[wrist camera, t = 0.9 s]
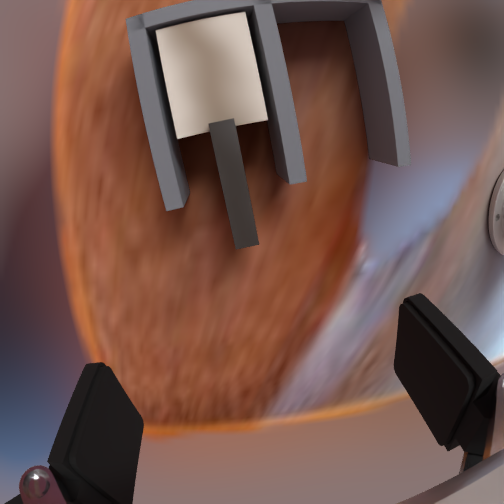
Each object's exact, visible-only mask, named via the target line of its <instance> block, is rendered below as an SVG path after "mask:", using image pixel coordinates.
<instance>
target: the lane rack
mask: <svg viewBox="0 0 504 504" xmlns="http://www.w3.org/2000/svg"><path fill="white" fill-rule="evenodd" d="M241 12H245V14H246V18H247V22H248V27H249V31H250V36H251V40H252V45H253V49H254V54H255V58H256V63H257V68H258V73H259V77H260V82H261V87H262V92H263V97H264V102H265V107H266V112H267V117H268V120H267V123H268V129H269V134H270V139H271V144H272V150H273V155H274V161H275V166H276V172H277V174H278V175H279V176H280V177H281V178H282V179H284V180H285V181H286V182H287V183H289V184H295V183H301V182H306V181H307V178H306V171H305V165H304V159H303V153H302V147H301V141H300V135H299V129H298V124H297V118H296V113H295V107H294V102H293V97H292V92H291V87H290V82H289V77H288V72H287V67H286V63H285V58H284V54H283V49H282V45H281V40H280V36H279V32H278V27H277V23H288V22H304V21H344V22H345V26H346V30H347V34H348V38H349V43H350V47H351V51H352V56H353V60H354V65H355V70H356V75H357V80H358V85H359V91H360V97H361V102H362V108H363V115H364V121H365V128H366V135H367V143H368V151H369V159H372V160H375V161H379V162H383V163H387V164H390V165H394V166H398V167H400V166H408V165H411V158H410V147H409V137H408V129H407V120H406V113H405V106H404V100H403V93H402V87H401V82H400V76H399V71H398V66H397V61H396V56H395V52H394V47H393V43H392V39H391V35H390V31H389V27H388V23H387V19H386V16H385V12H384V9H383V5H382V2H381V0H193V1H188V2H184V3H180V4H176V5H172V6H168V7H164V8H160V9H156V10H153V11H149V12H146V13H143V14H140V15H136V16H133V17H130V18H127V19H126V24H127V31H128V37H129V43H130V49H131V55H132V61H133V67H134V72H135V78H136V83H137V88H138V93H139V98H140V103H141V108H142V112H143V117H144V122H145V126H146V131H147V135H148V140H149V144H150V148H151V153H152V157H153V161H154V165H155V169H156V173H157V177H158V181H159V185H160V189H161V193H162V197H163V200H164V204H165V208H166V211H170V210H174V209H178V208H182V207H184V205H185V203H186V201H187V198H188V196H189V194H190V190H189V185H188V181H187V177H186V173H185V169H184V164H183V160H182V156H181V151H180V147H179V143H178V139H177V135H176V130H175V126H174V121H173V117H172V112H171V107H170V102H169V98H168V93H167V88H166V83H165V78H164V73H163V68H162V62H161V57H160V52H159V46H158V41H157V35H156V30H159V29H163V28H166V27H170V26H174V25H178V24H182V23H186V22H191V21H195V20H200V19H205V18H210V17H216V16H221V15H227V14H234V13H241Z"/></svg>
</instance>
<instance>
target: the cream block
mask: <svg viewBox="0 0 504 504" xmlns="http://www.w3.org/2000/svg"><path fill="white" fill-rule="evenodd" d="M156 35H157V41H158V46H159V52H160V57H161V62H162V68H163V73H164V78H165V83H166V88H167V93H168V98H169V102H170V107H171V112H172V117H173V121H174V126H175V130H176V135H177V139H180V138H184V137H189V136H193V135H197V134H201V133H205V132H210V134H211V139H212V143H213V148H214V153H215V157H216V162H217V166H218V171H219V176H220V180H221V185H222V189H223V194H224V198H225V203H226V207H227V212H228V216H229V221H230V225H231V230H232V234H233V239H234V243H235V247H236V249H241V248H245V247H250V246H255V245H259V241H258V236H257V231H256V226H255V220H254V215H253V210H252V205H251V200H250V195H249V190H248V185H247V180H246V175H245V170H244V165H243V160H242V155H241V150H240V146H239V141H238V136H237V131H236V126H239V125H244V124H249V123H255V122H260V121H265V120H268V117H267V112H266V107H265V102H264V97H263V92H262V87H261V82H260V77H259V73H258V68H257V63H256V58H255V54H254V49H253V45H252V40H251V36H250V31H249V27H248V22H247V18H246V14H245V12H241V13H234V14H227V15H221V16H216V17H210V18H205V19H200V20H195V21H191V22H186V23H182V24H178V25H174V26H170V27H166V28H163V29H159V30H156Z"/></svg>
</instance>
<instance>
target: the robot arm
mask: <svg viewBox="0 0 504 504" xmlns="http://www.w3.org/2000/svg"><path fill="white" fill-rule="evenodd" d="M489 233H490V238H491V242H492V244H493V246H494V248H495V249H496V250H497V251H498V252H499V253H500V254H502V255H503V256H504V171H503V172H502V173H501V175H500V177H499V179H498V181H497V183H496V186H495V188H494V191H493V194H492V198H491V203H490V208H489ZM394 370H395V373H396V375H397V376H398V378H399V380H400V381H401V383H402V384H403V386H404V388H405V389H406V391H407V392H408V394H409V396H410V397H411V399H412V400H413V402H414V404H415V405H416V407H417V409H418V410H419V412H420V413H421V415H422V417H423V419H424V420H425V422H426V424H427V425H428V427H429V429H430V430H431V432H432V434H433V435H434V437H435V439H436V440H437V442H438V444H439V445H441V446H443V445H444V446H445V447H446V449H447V451H450V450H452V449H453V448H455V447H457V446H459V445H460V446H461V447H462V449H463V451H464V455H463V459H462V463H461V467H460V471H459V475H457V476H455V477H453V478H451V479H449V480H447V481H445V482H443V483H441V484H439V485H437V486H435V487H433V488H431V489H429V490H427V491H425V492H422V493H420V494H418V495H416V496H414V497H411V498H409V499H407V500H404V501H402V502H400V503H397V504H504V373H503V374H502V375H500V374H499V373H498V372H497V370H496V369H495V368H494V366H493V365H492V364H491V363H490V362H489V361H488V360H487V359H486V358H485V357H484V356H483V354H482V353H481V352H480V351H479V350H478V349H477V348H476V347H475V346H474V345H473V344H472V343H471V342H470V341H469V340H468V339H467V338H466V336H465V335H464V334H463V333H462V332H461V331H460V330H459V329H458V328H457V327H456V326H455V325H454V324H453V323H452V322H451V321H450V320H449V319H448V318H447V317H446V316H445V315H444V314H443V313H442V312H441V311H440V310H439V309H438V308H437V307H436V306H435V305H434V304H433V303H432V302H430V301H429V300H428V299H427V298H426V297H425V296H424V295H423V294H421V293H419V294H416V295H413V296H410V297H407V298H405V299H404V301H403V304H401V305H400V307H399V318H398V330H397V341H396V350H395V359H394ZM143 428H144V423H143V419H142V417H141V415H140V414H139V412H138V411H137V409H136V408H135V406H134V405H133V403H132V402H131V400H130V399H129V397H128V396H127V394H126V392H125V391H124V389H123V388H122V386H121V384H120V383H119V381H118V379H117V378H116V376H115V374H114V373H113V371H112V369H111V368H110V367H109V366H106V365H105V364H104V363H102V362H100V363H90V364H86V365H85V367H84V369H83V371H82V374H81V376H80V378H79V381H78V383H77V385H76V388H75V390H74V392H73V395H72V397H71V400H70V402H69V404H68V407H67V409H66V412H65V415H64V417H63V420H62V422H61V425H60V427H59V430H58V433H57V436H56V438H55V441H54V444H53V446H52V449H51V452H50V455H49V458H48V461H47V462H48V463H49V464H50V466H49V469H48V468H47V467H45V466H41V465H40V466H34V467H31V468H29V469H28V470H27V471H25V473H24V474H23V475H22V477H21V480H20V483H19V491H20V494H19V495H18V496H16V497H14V498H13V499H11V500H10V501H8V502H6V503H5V504H132V502H133V494H134V486H135V479H136V472H137V465H138V458H139V452H140V446H141V440H142V434H143Z"/></svg>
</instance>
